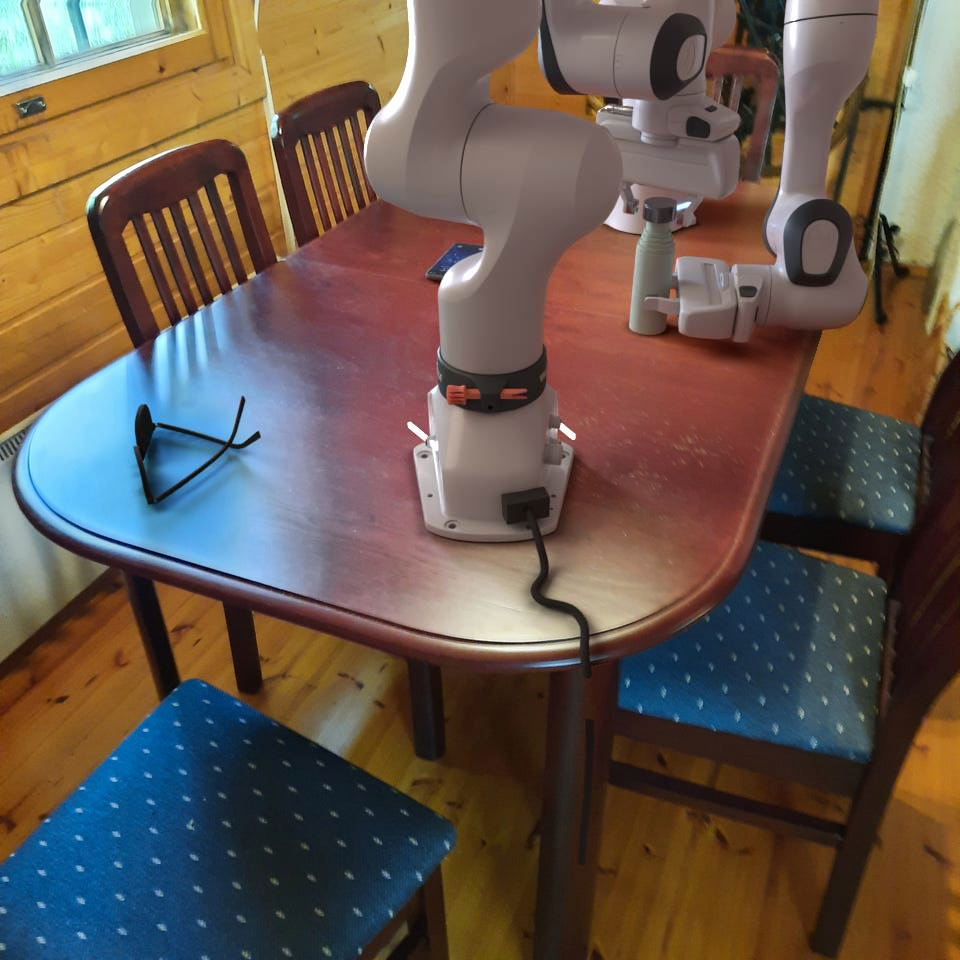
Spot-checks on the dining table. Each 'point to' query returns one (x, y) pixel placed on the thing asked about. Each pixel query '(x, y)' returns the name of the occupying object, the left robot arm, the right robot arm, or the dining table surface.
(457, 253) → the smartphone
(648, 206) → the cap
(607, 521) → the dining table surface
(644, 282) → the bottle
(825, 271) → the right robot arm
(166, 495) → the sunglasses
